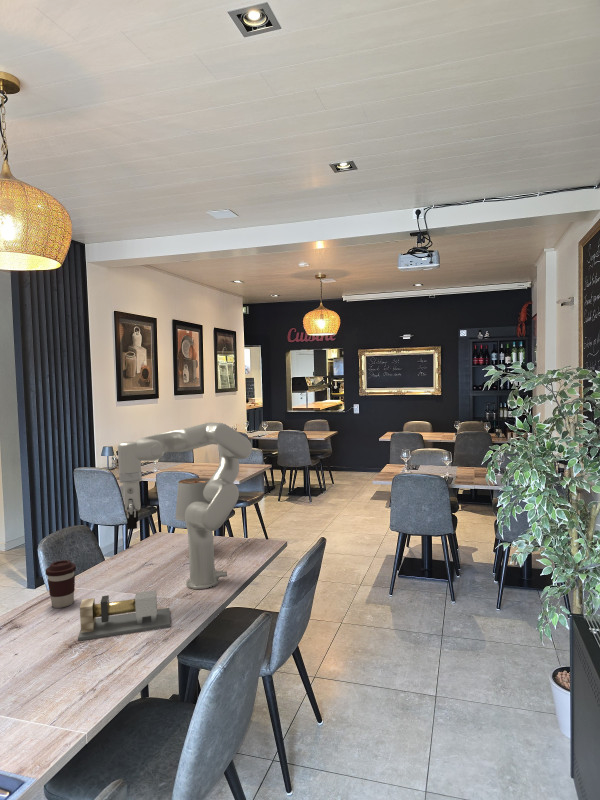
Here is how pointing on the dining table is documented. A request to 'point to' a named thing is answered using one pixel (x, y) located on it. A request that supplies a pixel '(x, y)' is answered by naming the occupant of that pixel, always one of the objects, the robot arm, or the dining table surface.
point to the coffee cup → (61, 583)
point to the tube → (112, 608)
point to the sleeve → (146, 605)
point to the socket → (87, 615)
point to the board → (126, 625)
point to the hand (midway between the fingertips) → (133, 525)
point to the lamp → (189, 494)
